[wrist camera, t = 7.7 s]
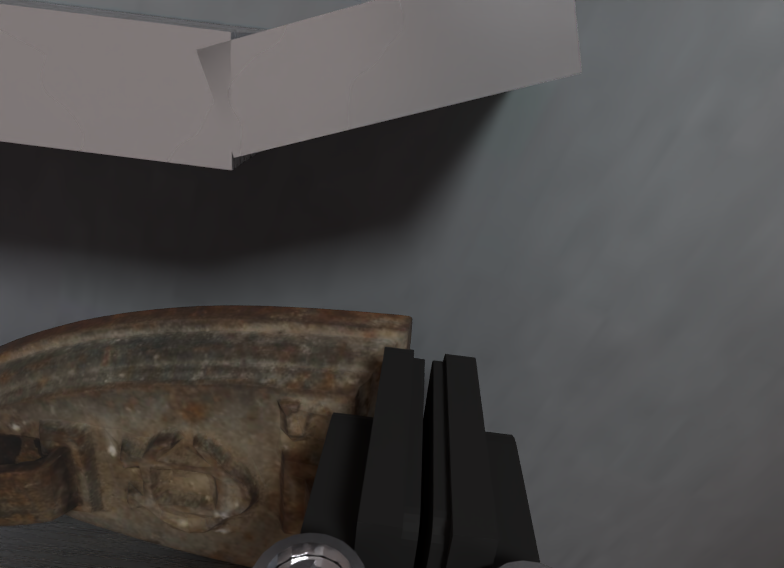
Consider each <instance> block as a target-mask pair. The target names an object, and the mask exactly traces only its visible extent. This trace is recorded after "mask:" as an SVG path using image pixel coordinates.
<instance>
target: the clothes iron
mask: <svg viewBox="0 0 784 568" xmlns="http://www.w3.org/2000/svg"><path fill="white" fill-rule="evenodd" d="M411 331H412V317H410V316H403V315H394V314H381V313H371V312H359V311H345V310H331V309H316V308H297V307H276V306H236V305H230V306H194V307H178V308H165V309H155V310H146V311H137V312H128V313H122V314H116V315H110V316H103V317H98V318H93V319H87V320H82V321H78V322H74V323H70V324H66V325H62V326H58V327H55V328H51V329H48V330H44V331H41V332H37V333H34V334H31V335H28V336H26V337H23V338H20V339H17V340H15V341H12V342H10V343H7V344H5V345H2V346H0V526H14V525H28V524H36V523H44V522H51V521H53V520H55V519H57V518H59V517H61V516H63V515H64V514H65V515H67V516H70V517H72V518H75V519H77V520H80V521H83V522H86V523H89V524H92V525H95V526H98V527H101V528H105V529H108V530H111V531H114V532H117V533H121V534H124V535H127V536H131V537H134V538H137V539H140V540H144V541H148V542H151V543H155V544H159V545H162V546H166V547H169V548H173V549H177V550H181V551H185V552H188V553H192V554H196V555H200V556H204V557H208V558H212V559H216V560H220V561H225V562H229V563H234V564H239V565H243V566H248V567H253V566H254V565H255V563H256V562H257V561H258V559H259V558H260V557H261V555H262V554H263V553H264V552H265V551H266V550H267V549H269V548H270V547H271V546H272V545H274V544H275V543H276V542H278V541H280V540H282V539H285V538H287V537H290V536H292V535H296V534H300V532H301V528H302V524H303V521H304V517H305V513H306V509H307V506H308V502H309V498H310V494H311V491H312V487H313V483H314V479H315V476H316V472H317V468H318V465H319V461H320V457H321V453H322V450H323V446H324V442H325V438H326V435H327V431H328V427H329V423H330V420H331V417H332V414H333V412H335V413H343V414H351V415H359V416H367V417H374V412H375V406H376V399H377V393H378V387H379V380H380V374H381V368H382V361H383V355H384V349H385V347H393V348H401V349H409V350H410V343H411Z"/></svg>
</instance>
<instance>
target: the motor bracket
mask: <svg viewBox="0 0 784 568" xmlns="http://www.w3.org/2000/svg"><path fill="white" fill-rule="evenodd" d="M580 73H582V67H581V57H580V47H579V37H578V27H577V17H576V7H575V0H374V1H370V2H366V3H363V4H359V5H356V6H352V7H348V8H345V9H341V10H338V11H334V12H330V13H327V14H323V15H320V16H316V17H312V18H309V19H305V20H302V21H298V22H294V23H291V24H287V25H284V26H280V27H276V28H273V29H269V30H263V29H255V28H247V27H239V26H231V25H222V24H214V23H206V22H198V21H190V20H182V19H173V18H165V17H157V16H149V15H141V14H133V13H124V12H116V11H108V10H100V9H92V8H84V7H75V6H67V5H59V4H51V3H43V2H35V1H26V0H0V141H2V142H10V143H18V144H26V145H34V146H42V147H50V148H58V149H66V150H74V151H82V152H90V153H98V154H106V155H114V156H122V157H130V158H138V159H146V160H154V161H162V162H170V163H178V164H186V165H194V166H202V167H210V168H218V169H226V170H233V169H235V168H236V167H238V166H239V165H240V164H242V163H243V162H245V161H246V160H248V159H249V158H251V157H252V156H254V155H255V154H257V153H258V152H260V151H264V150H268V149H272V148H276V147H280V146H284V145H288V144H292V143H297V142H301V141H305V140H309V139H313V138H317V137H321V136H325V135H329V134H334V133H338V132H342V131H346V130H350V129H354V128H358V127H362V126H367V125H371V124H375V123H379V122H383V121H387V120H391V119H395V118H399V117H404V116H408V115H412V114H416V113H420V112H424V111H428V110H432V109H436V108H441V107H445V106H449V105H453V104H457V103H461V102H465V101H469V100H473V99H478V98H482V97H486V96H490V95H494V94H498V93H502V92H506V91H510V90H515V89H519V88H523V87H527V86H531V85H535V84H539V83H543V82H547V81H552V80H556V79H560V78H564V77H568V76H572V75H576V74H580ZM0 568H253V567H248V566H243V565H239V564H234V563H229V562H225V561H220V560H216V559H212V558H208V557H204V556H200V555H196V554H192V553H188V552H185V551H181V550H177V549H173V548H169V547H166V546H162V545H159V544H155V543H151V542H148V541H144V540H140V539H137V538H134V537H131V536H127V535H124V534H121V533H117V532H114V531H111V530H108V529H105V528H101V527H98V526H95V525H92V524H89V523H86V522H83V521H80V520H77V519H75V518H72V517H70V516H67V515H65V514H64V515H63V516H61V517H59V518H57V519H55V520H53V521H51V522H44V523H36V524H28V525H14V526H0Z"/></svg>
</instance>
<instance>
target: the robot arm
mask: <svg viewBox="0 0 784 568" xmlns="http://www.w3.org/2000/svg"><path fill="white" fill-rule="evenodd" d="M424 367H425V360H424V359H418V358H414V350H409V349H401V348H393V347H385V349H384V355H383V361H382V368H381V374H380V380H379V387H378V393H377V399H376V406H375V412H374V417H367V416H359V415H351V414H343V413H335V412H333V414H332V417H331V420H330V423H329V427H328V431H327V435H326V438H325V442H324V446H323V450H322V453H321V457H320V461H319V465H318V468H317V472H316V476H315V479H314V483H313V487H312V491H311V494H310V498H309V502H308V506H307V509H306V513H305V517H304V521H303V524H302V528H301V532H300V534H296V535H292V536H290V537H287V538H285V539H282V540H280V541H278V542H276V543H275V544H274V545H272V546H271V547H270V548H269V549H267V550H266V551H265V552H264V553H263V554H262V555H261V557H260V558H259V559H258V561H257V562H256V563H255V565H254V566H253V568H552V567H549V566H547V565H544V564H542V563H540V560H539V555H538V550H537V545H536V540H535V535H534V530H533V525H532V520H531V515H530V510H529V505H528V500H527V495H526V490H525V485H524V480H523V475H522V470H521V465H520V460H519V455H518V450H517V445H516V442H515V438H514V437H513V436H512V435H508V434H500V433H492V432H485V427H484V419H483V412H482V404H481V396H480V388H479V381H478V373H477V365H476V359H475V358H473V357H465V356H457V355H449V354H445V356H444V360H443V362H442V361H434V360H433V362H432V367H431V373H430V379H429V386H428V392H427V398H426V405H425V411H424V417H423V402H424Z"/></svg>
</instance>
